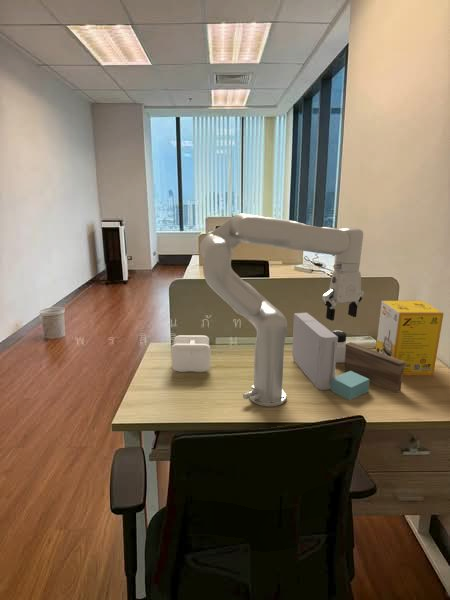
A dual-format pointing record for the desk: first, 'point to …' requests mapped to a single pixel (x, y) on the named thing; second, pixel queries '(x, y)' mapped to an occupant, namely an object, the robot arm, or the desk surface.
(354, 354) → the walnut board
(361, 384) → the teal block
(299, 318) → the game console
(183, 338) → the cable organizer
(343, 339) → the medicine bottle
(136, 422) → the desk surface
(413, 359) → the packaging box
